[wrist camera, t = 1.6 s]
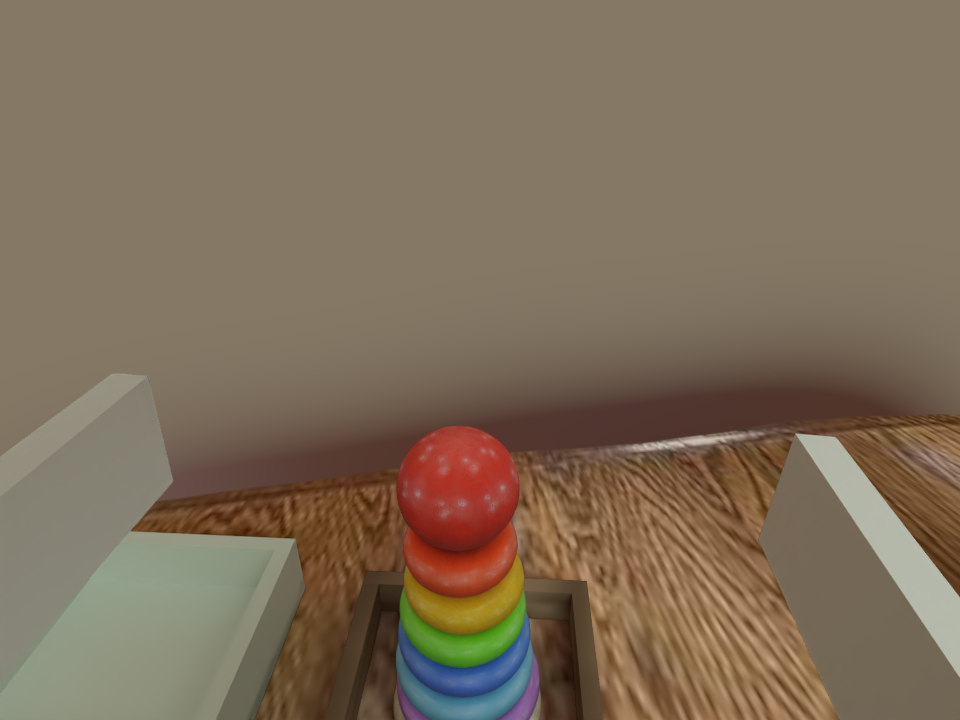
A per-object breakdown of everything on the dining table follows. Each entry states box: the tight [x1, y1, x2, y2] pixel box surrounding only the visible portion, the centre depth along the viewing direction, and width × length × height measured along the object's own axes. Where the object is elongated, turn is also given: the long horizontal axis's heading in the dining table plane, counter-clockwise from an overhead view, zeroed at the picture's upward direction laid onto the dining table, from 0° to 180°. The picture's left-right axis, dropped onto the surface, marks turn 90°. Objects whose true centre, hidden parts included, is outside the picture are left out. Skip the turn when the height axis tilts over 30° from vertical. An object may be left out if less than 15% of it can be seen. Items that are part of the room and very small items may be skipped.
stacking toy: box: [393, 426, 541, 720], centre depth 28 cm, size 8×8×19 cm
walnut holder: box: [324, 571, 604, 720], centre depth 32 cm, size 14×14×2 cm
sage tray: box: [0, 531, 305, 720], centre depth 33 cm, size 15×15×4 cm
